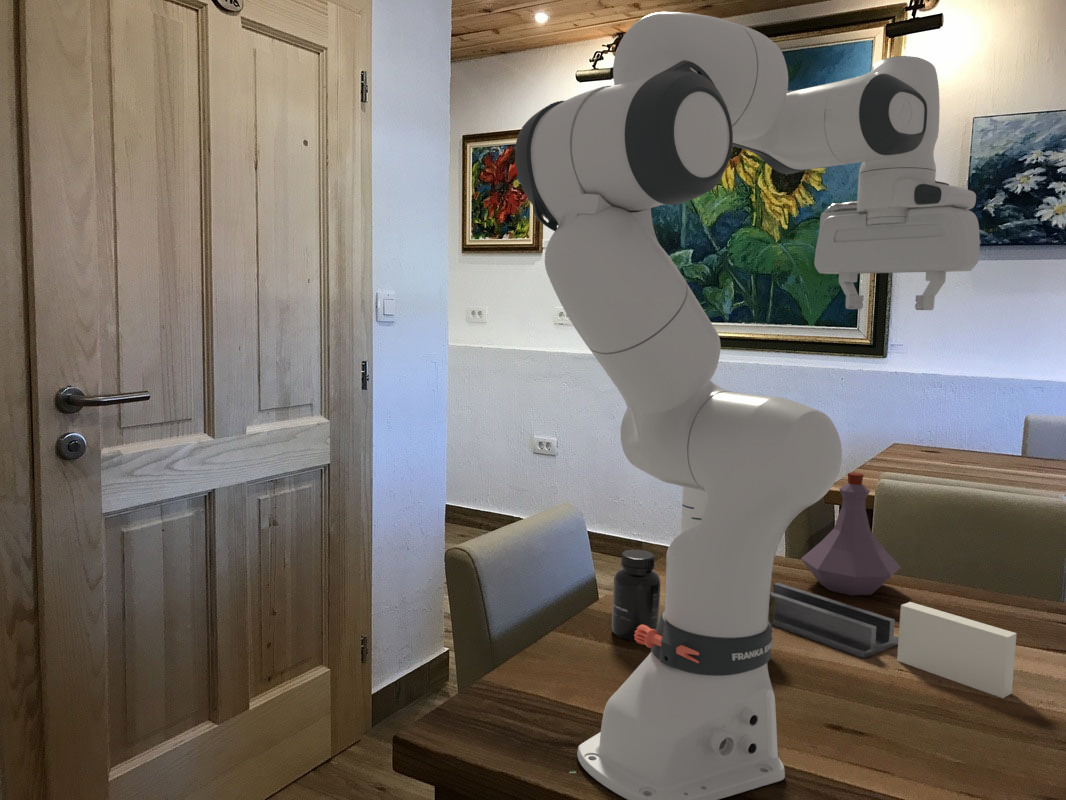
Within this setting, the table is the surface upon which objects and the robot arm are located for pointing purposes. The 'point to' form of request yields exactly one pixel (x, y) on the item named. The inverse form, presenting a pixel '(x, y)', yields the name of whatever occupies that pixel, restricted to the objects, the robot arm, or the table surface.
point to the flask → (851, 548)
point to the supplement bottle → (635, 594)
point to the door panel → (957, 648)
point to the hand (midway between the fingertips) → (887, 309)
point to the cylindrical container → (692, 507)
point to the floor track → (832, 622)
